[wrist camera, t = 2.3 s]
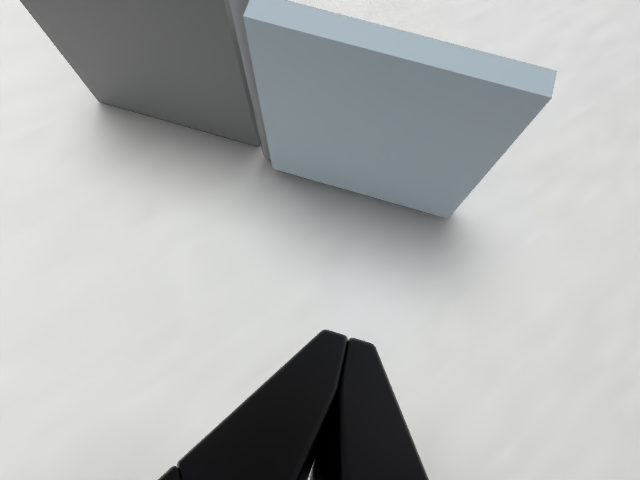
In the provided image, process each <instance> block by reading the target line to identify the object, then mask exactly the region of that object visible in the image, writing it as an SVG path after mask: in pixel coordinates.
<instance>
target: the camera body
mask: <svg viewBox="0 0 640 480" xmlns="http://www.w3.org/2000/svg"><path fill="white" fill-rule="evenodd" d="M20 1H21V2H22V4H23V5H24V6H25V8H26V9H27V10H28V11H29V13H30V14H31V15H32V17H33V18H34V19H35V20H36V22H37V23H38V24H39V25H40V27H41V28H42V29H43V31H44V32H45V33H46V34H47V36H48V37H49V38H50V40H51V41H52V42H53V43H54V45H55V46H56V47H57V49H58V50H59V51H60V52H61V54H62V55H63V56H64V58H65V59H66V60H67V61H68V63H69V64H70V65H71V67H72V68H73V69H74V70H75V72H76V73H77V74H78V76H79V77H80V78H81V79H82V81H83V82H84V83H85V84H86V86H87V87H88V88H89V90H90V91H91V92H92V93H93V95H94V96H95V97H96V99H97V100H98V101H99V102H102V103H106V104H109V105H113V106H116V107H120V108H123V109H127V110H130V111H134V112H137V113H141V114H144V115H148V116H151V117H155V118H159V119H162V120H166V121H169V122H173V123H176V124H180V125H183V126H187V127H190V128H194V129H197V130H201V131H204V132H208V133H212V134H215V135H219V136H222V137H226V138H229V139H233V140H236V141H240V142H243V143H247V144H250V145H254V146H258V147H259V144H260V137H259V133H258V128H257V124H256V119H255V115H254V110H253V106H252V101H251V97H250V92H249V88H248V83H247V79H246V74H245V70H244V65H243V61H242V56H241V52H240V47H239V43H238V38H237V34H236V29H235V25H234V20H233V16H232V11H231V7H230V2H229V0H20Z"/></svg>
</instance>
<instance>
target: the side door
mask: <svg viewBox="0 0 640 480" xmlns="http://www.w3.org/2000/svg"><path fill="white" fill-rule="evenodd" d="M229 2H230V7H231V11H232V16H233V20H234V25H235V29H236V34H237V38H238V43H239V47H240V52H241V56H242V61H243V65H244V70H245V74H246V79H247V83H248V88H249V92H250V97H251V101H252V106H253V110H254V115H255V119H256V124H257V128H258V133H259V137H260V142H261V146H262V150H263V154H264V156H265V157H266V158H268V159H271V163H272V168H273V169H275V170H279V171H282V172H286V173H289V174H293V175H296V176H300V177H303V178H307V179H310V180H314V181H317V182H321V183H324V184H328V185H331V186H335V187H338V188H342V189H345V190H349V191H352V192H356V193H359V194H363V195H366V196H370V197H373V198H377V199H380V200H384V201H388V202H391V203H395V204H398V205H402V206H405V207H409V208H412V209H416V210H419V211H423V212H426V213H430V214H433V215H437V216H440V217H444V218H447V219H448V218H449V217H450V216H451V214H452V213H453V212H454V211H455V210H456V209H457V207H458V206H459V205H460V204H461V203H462V202H463V200H464V199H465V198H466V197H467V196H468V195H469V193H470V192H471V191H472V190H473V189H474V188H475V186H476V185H477V184H478V183H479V182H480V181H481V179H482V178H483V177H484V176H485V175H486V174H487V172H488V171H489V170H490V169H491V168H492V167H493V166H494V164H495V163H496V162H497V161H498V160H499V159H500V157H501V156H502V155H503V154H504V153H505V152H506V150H507V149H508V148H509V147H510V146H511V145H512V143H513V142H514V141H515V140H516V139H517V138H518V136H519V135H520V134H521V133H522V132H523V131H524V129H525V128H526V127H527V126H528V125H529V124H530V122H531V121H532V120H533V119H534V118H535V117H536V115H537V114H538V113H539V112H540V111H541V110H542V108H543V107H544V106H545V105H546V104H547V103H548V101H549V100H550V99H551V98H552V94H553V88H554V83H555V78H556V72H557V71H555V70H552V69H548V68H544V67H540V66H536V65H532V64H529V63H525V62H521V61H517V60H513V59H509V58H506V57H502V56H498V55H494V54H490V53H486V52H483V51H479V50H475V49H471V48H467V47H463V46H460V45H456V44H452V43H448V42H444V41H440V40H437V39H433V38H429V37H425V36H421V35H417V34H414V33H410V32H406V31H402V30H398V29H394V28H391V27H387V26H383V25H379V24H375V23H371V22H368V21H364V20H360V19H356V18H352V17H348V16H345V15H341V14H337V13H333V12H329V11H325V10H322V9H318V8H314V7H310V6H306V5H302V4H299V3H295V2H291V1H287V0H229Z"/></svg>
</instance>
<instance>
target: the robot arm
mask: <svg viewBox="0 0 640 480" xmlns="http://www.w3.org/2000/svg"><path fill="white" fill-rule="evenodd" d="M312 465H313V466H312ZM311 468H312V471H311ZM310 471H311V475H310V480H429V479H428V477H427V474H426V472H425V469H424V467H423V464H422V462H421V459H420V457H419V454H418V452H417V449H416V447H415V445H414V442H413V440H412V437H411V435H410V432H409V430H408V427H407V425H406V422H405V420H404V417H403V415H402V412H401V410H400V407H399V405H398V402H397V400H396V397H395V395H394V392H393V390H392V387H391V385H390V382H389V380H388V377H387V375H386V372H385V370H384V367H383V365H382V362H381V360H380V357H379V355H378V352H377V350H376V347H375V346H374V345H373V344H371V343H369V342H365V341H362V340H359V339H355V338H350V339H349V340H348V339H347V337H346V336H345V335H342V334H339V333H336V332H333V331H329V330H322V331H321V332H320V333H319V334H318V335H317V336H315V337H314V338H313V339H312V340H311V341H310V342H309V343H308V344H307V345H306V346H304V347H303V348H302V349H301V350H300V351H299V352H298V353H297V354H296V355H295V356H293V357H292V358H291V359H290V360H289V361H288V362H287V363H286V364H285V365H284V366H283V367H281V368H280V369H279V370H278V371H277V372H276V373H275V374H274V375H273V376H272V377H270V378H269V379H268V380H267V381H266V382H265V383H264V384H263V385H262V386H261V387H259V388H258V389H257V390H256V391H255V392H254V393H253V394H252V395H251V396H250V397H249V398H247V399H246V400H245V401H244V402H243V403H242V404H241V405H240V406H239V407H238V408H236V409H235V410H234V411H233V412H232V413H231V414H230V415H229V416H228V417H227V418H225V419H224V420H223V421H222V422H221V423H220V424H219V425H218V426H217V427H216V428H215V429H213V430H212V431H211V432H210V433H209V434H208V435H207V436H206V437H205V438H204V439H202V440H201V441H200V442H199V443H198V444H197V445H196V446H195V447H194V448H193V449H191V450H190V451H189V452H188V453H187V454H186V455H185V456H184V457H183V458H182V459H181V460H179V461H178V463H177V467H176V466H173V467H171V468H170V469H169V470H168V471H167V472H166V473H165V474H164V475H163V476H161V477H160V478H159V479H158V480H308V477H309V474H310Z"/></svg>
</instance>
